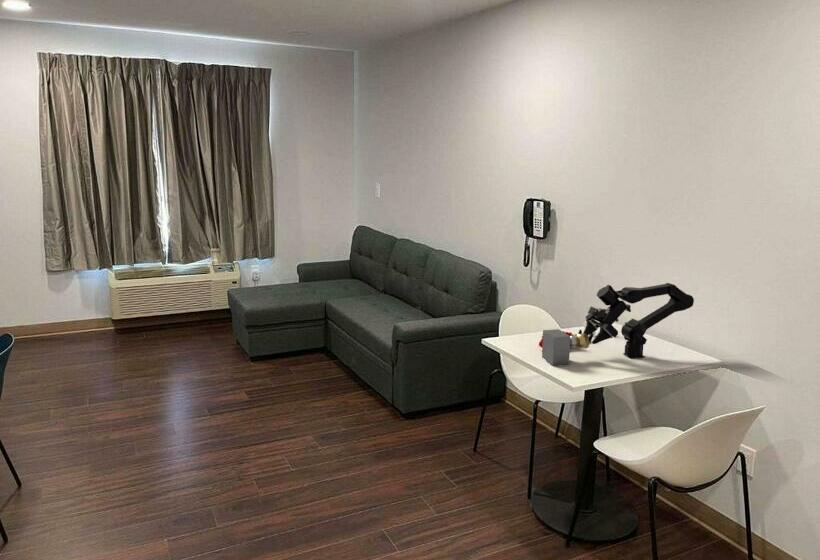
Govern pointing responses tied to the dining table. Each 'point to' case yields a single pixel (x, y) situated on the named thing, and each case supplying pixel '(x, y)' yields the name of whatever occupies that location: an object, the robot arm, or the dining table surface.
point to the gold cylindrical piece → (579, 341)
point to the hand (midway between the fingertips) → (587, 340)
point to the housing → (556, 347)
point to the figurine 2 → (586, 324)
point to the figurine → (569, 335)
